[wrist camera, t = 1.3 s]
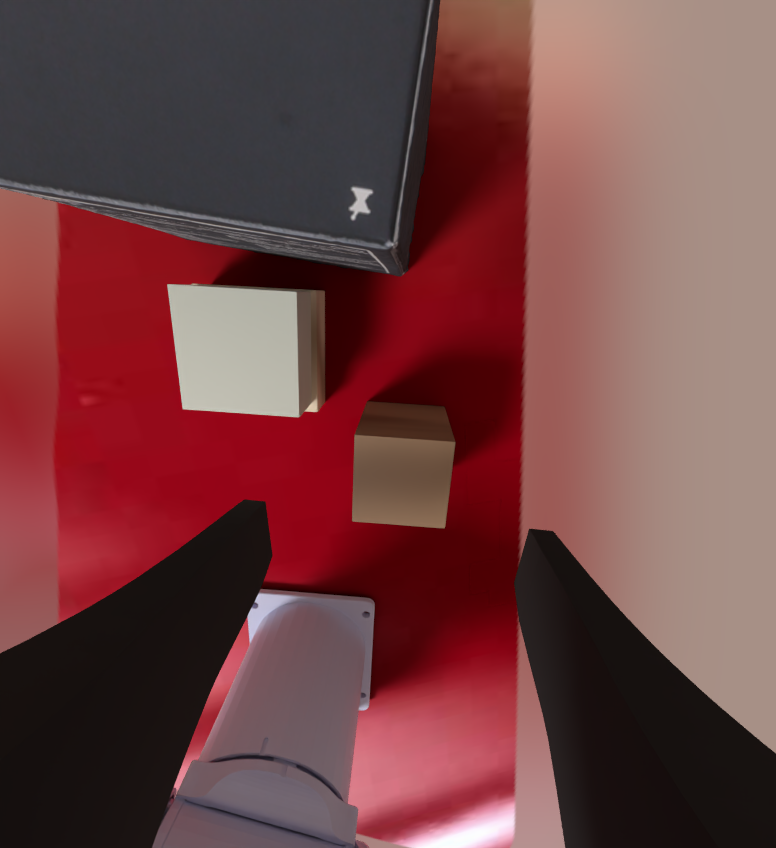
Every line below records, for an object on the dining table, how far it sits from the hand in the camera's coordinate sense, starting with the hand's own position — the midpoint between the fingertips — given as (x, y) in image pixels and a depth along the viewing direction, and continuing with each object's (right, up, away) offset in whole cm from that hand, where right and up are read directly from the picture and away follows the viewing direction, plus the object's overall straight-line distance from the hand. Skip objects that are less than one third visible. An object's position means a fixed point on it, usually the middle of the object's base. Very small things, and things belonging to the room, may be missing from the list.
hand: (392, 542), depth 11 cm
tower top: (-6, +7, +7) cm, 11 cm away
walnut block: (+1, +2, +10) cm, 10 cm away
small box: (-4, +14, +6) cm, 16 cm away
